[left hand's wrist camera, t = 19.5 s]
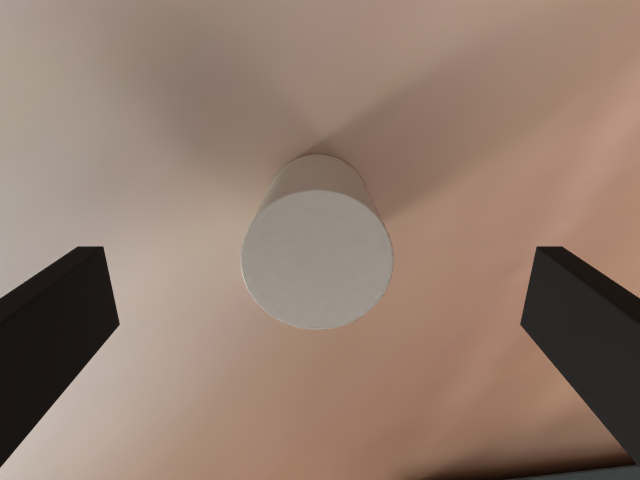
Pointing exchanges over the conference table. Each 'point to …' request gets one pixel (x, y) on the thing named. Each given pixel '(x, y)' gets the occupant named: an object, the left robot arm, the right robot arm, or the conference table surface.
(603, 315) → the left robot arm
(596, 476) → the book
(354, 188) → the can
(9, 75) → the conference table surface
